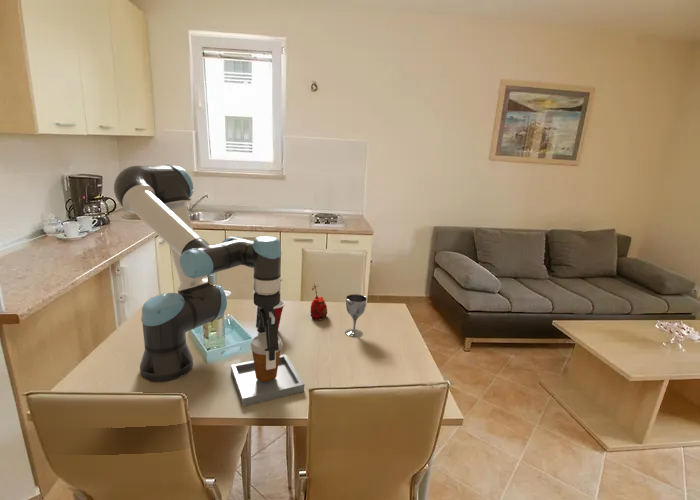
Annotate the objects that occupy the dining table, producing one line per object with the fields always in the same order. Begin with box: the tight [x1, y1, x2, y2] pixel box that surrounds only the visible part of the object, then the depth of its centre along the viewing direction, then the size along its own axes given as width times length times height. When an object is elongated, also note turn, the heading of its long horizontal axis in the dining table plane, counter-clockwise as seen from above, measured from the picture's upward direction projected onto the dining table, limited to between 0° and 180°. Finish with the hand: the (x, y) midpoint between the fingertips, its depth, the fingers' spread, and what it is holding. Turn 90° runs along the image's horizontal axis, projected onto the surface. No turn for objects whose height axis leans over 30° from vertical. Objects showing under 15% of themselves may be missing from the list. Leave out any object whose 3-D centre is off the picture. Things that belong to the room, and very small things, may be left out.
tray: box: [230, 353, 305, 407], centre depth 118 cm, size 18×18×2 cm
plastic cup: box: [264, 299, 286, 332], centre depth 148 cm, size 11×11×12 cm
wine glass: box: [344, 293, 368, 338], centre depth 150 cm, size 8×8×15 cm
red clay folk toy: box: [310, 283, 328, 321], centre depth 162 cm, size 8×7×15 cm
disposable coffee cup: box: [249, 334, 284, 382], centre depth 116 cm, size 10×10×12 cm
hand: (266, 359), depth 116 cm, fingers closed on disposable coffee cup, 9 cm apart
